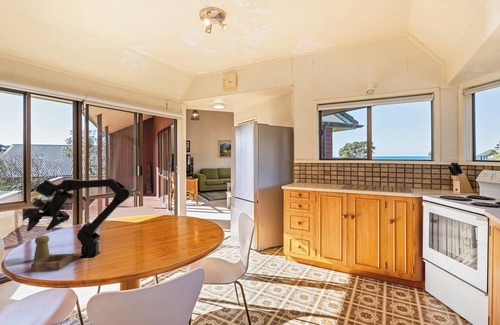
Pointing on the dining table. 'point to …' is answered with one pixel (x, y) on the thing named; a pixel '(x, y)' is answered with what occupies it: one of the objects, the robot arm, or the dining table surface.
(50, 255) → the socket block
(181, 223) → the dining table surface
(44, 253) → the cork
